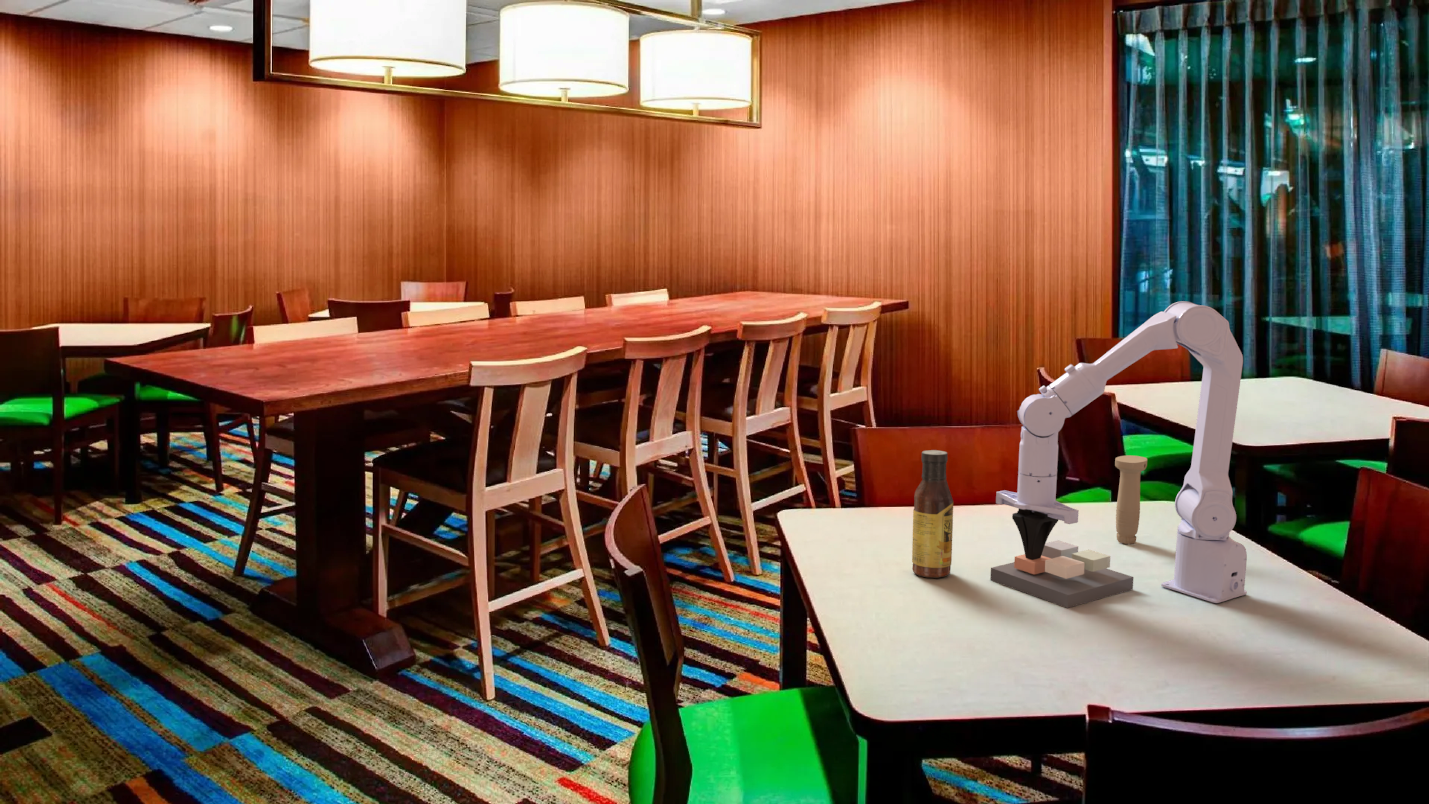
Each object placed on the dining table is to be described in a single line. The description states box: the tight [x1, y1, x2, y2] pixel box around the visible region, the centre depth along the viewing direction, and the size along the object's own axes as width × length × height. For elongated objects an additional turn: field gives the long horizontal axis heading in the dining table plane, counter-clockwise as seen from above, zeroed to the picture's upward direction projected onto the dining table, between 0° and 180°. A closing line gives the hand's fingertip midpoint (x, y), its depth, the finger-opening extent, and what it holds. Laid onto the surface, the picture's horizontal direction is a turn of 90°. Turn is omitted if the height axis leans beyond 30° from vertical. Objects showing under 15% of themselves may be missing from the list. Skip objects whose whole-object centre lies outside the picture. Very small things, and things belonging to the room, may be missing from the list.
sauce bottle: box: [911, 449, 954, 579], centre depth 171 cm, size 7×6×20 cm
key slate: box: [1042, 539, 1079, 559], centre depth 170 cm, size 4×4×2 cm
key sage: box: [1072, 549, 1111, 572], centre depth 165 cm, size 4×4×2 cm
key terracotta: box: [1013, 553, 1051, 575], centre depth 167 cm, size 4×4×2 cm
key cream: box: [1045, 556, 1085, 579], centre depth 162 cm, size 4×4×2 cm
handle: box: [1114, 454, 1148, 545], centre depth 188 cm, size 5×6×15 cm
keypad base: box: [989, 561, 1134, 609], centre depth 167 cm, size 15×15×2 cm
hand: (1033, 557), depth 167 cm, fingers closed, pressing on key terracotta
